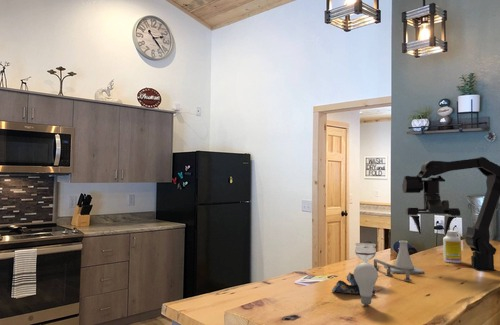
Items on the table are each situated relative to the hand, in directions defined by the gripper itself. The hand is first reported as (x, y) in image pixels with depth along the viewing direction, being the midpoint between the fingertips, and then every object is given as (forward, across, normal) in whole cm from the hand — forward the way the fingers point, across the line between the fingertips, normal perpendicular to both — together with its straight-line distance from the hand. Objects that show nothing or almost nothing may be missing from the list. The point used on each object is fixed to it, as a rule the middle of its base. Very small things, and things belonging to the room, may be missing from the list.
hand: (432, 234), depth 151 cm
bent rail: (+13, -18, -16) cm, 27 cm away
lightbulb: (+13, -29, -56) cm, 64 cm away
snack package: (+14, -31, -43) cm, 55 cm away
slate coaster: (+13, -12, -7) cm, 19 cm away
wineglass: (+13, -27, -28) cm, 41 cm away
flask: (+12, -12, -7) cm, 18 cm away
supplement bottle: (+13, +11, +16) cm, 24 cm away
